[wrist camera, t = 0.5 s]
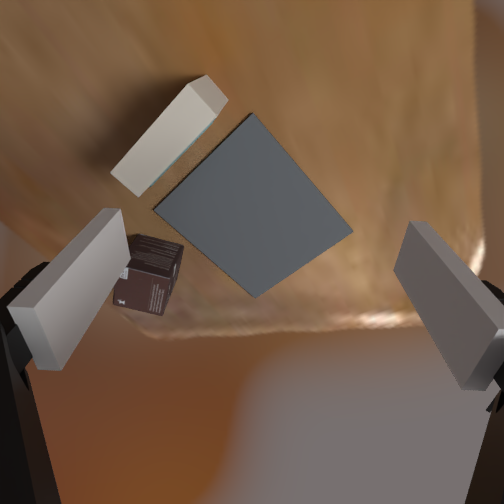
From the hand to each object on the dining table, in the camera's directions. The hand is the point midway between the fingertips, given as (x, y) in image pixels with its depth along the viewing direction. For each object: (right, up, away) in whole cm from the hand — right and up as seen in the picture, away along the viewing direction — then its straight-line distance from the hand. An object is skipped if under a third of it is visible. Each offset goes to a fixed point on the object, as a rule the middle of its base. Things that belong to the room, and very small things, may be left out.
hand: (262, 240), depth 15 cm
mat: (0, +3, +24) cm, 24 cm away
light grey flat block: (-8, +13, +19) cm, 24 cm away
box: (-13, -1, +28) cm, 31 cm away
